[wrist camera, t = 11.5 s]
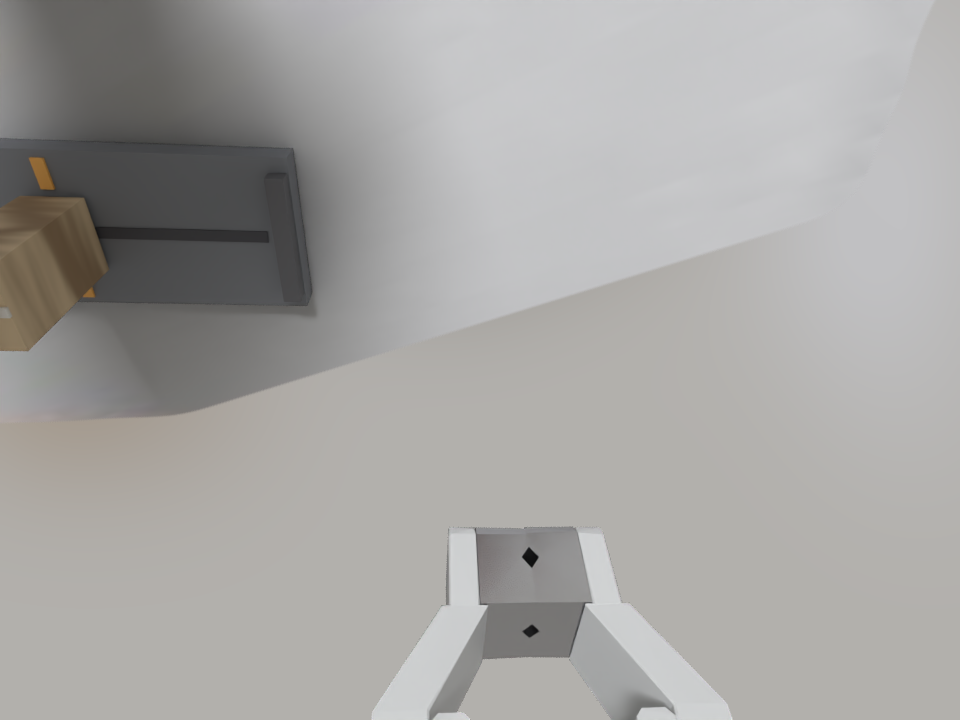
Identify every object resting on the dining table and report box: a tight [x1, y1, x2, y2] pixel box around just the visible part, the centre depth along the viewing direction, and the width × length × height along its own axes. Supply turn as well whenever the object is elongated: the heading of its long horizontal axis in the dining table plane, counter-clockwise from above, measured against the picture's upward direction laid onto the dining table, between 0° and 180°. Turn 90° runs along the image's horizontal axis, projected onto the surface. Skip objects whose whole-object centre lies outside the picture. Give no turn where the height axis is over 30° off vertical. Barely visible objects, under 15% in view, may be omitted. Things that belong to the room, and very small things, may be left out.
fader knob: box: [0, 196, 109, 351], centre depth 36 cm, size 4×5×10 cm
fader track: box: [0, 138, 312, 306], centre depth 41 cm, size 25×11×3 cm, turn 87°
